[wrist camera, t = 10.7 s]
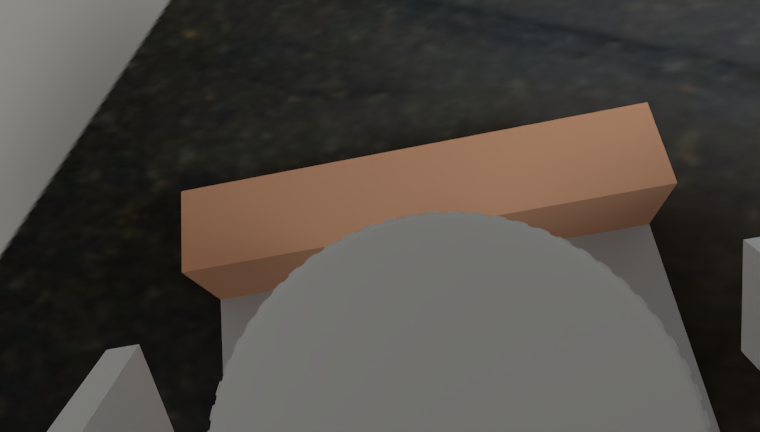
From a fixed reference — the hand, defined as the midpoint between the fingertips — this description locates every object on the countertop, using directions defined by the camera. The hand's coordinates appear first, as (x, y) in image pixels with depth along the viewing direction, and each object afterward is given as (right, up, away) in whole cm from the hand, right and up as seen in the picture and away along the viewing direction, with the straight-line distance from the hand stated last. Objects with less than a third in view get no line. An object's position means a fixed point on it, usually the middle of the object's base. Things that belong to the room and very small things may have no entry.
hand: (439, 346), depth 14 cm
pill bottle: (+1, -5, +7) cm, 9 cm away
